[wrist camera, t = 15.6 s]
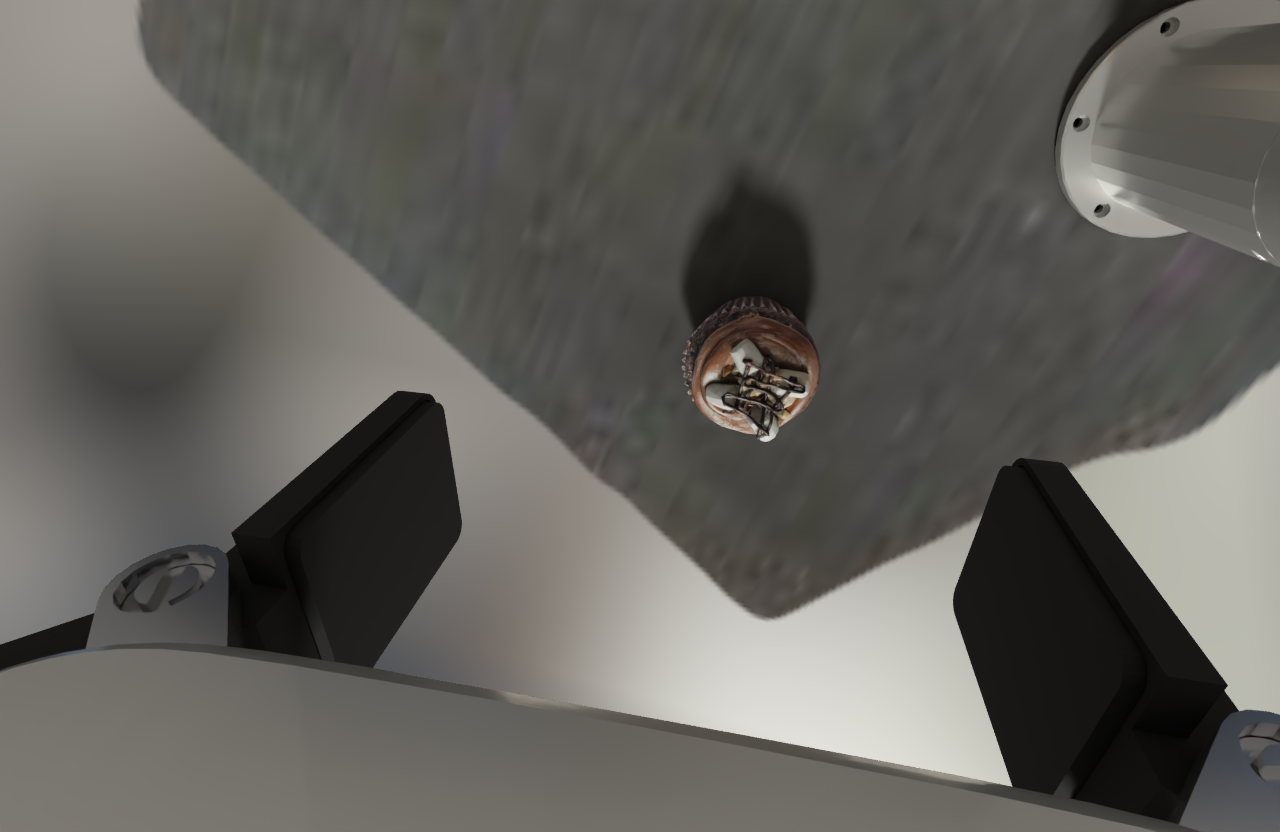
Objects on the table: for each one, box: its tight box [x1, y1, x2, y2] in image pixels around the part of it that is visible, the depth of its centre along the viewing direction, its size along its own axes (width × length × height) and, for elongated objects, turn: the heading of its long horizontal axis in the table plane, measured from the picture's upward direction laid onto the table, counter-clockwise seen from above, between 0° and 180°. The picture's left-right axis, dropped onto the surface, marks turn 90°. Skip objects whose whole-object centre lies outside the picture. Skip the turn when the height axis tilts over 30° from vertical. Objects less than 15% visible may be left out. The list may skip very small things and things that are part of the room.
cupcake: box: [682, 296, 821, 442], centre depth 43 cm, size 10×10×10 cm
